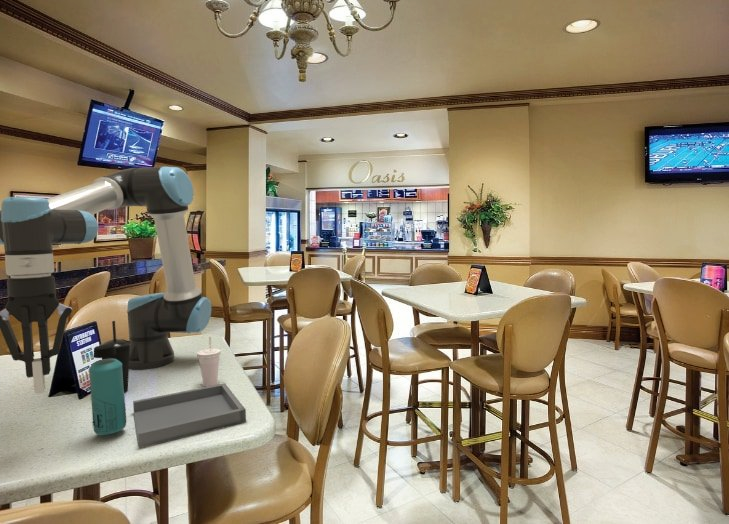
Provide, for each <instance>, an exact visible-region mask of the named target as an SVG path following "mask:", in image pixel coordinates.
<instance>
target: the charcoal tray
mask: <svg viewBox="0 0 729 524" xmlns="http://www.w3.org/2000/svg"><path fill="white" fill-rule="evenodd" d="M132 403H133V405H132V406H133V417H134V423H135V430H136V437H137V443H138V449H143V448H145V447H147V448H148V447H150V446H154V445H159V444H162V443H167V442H170V441H174V440H178V439H182V438H186V437H191V436H195V435H199V434H203V433H206V432H210V431H214V430H215V429H216V430H220V429H223V427H224V428H227V426H228V427H231V426H235V425H240V424H244V423H247V413H246V408H245V407H244V405H243V404H242V403H241V402H240V400H239V399H238V398H237V397H236V395H235V393H233V391H232V390H231V389H230V387H228V385H227V384H226V383H224V382H223V383H219V384H216V385H213V386H208V387H206V386H204V387H199V388H193V389H188V390H184V391H179V392H174V393H168V394H164V395H158V396H154V397H153V396H152V397H147V398H142V399H137V400H133V401H132Z"/></svg>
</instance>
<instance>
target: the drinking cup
mask: <svg viewBox="0 0 729 524" xmlns="http://www.w3.org/2000/svg"><path fill="white" fill-rule="evenodd" d="M111 322H112V323H111V325H112V338H113V339H109V340H107V341H104V342H103V343H101V344H99V345H98V346H100V345H107V344H112V345H114V346H115V351H116V354H115V355H114V356H110V357H106V358H101V360H103V359H111V358H112V359H117V360H118V361H120V362H121V363H122V372H123V387H124V394H126V393H127V392H128V391H129V369H130V368H129V352H130V344H131V342H130V341H129V340H127V339H123V338H117V333H116V330H117V329H116V320H112V321H111Z"/></svg>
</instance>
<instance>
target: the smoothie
mask: <svg viewBox="0 0 729 524" xmlns="http://www.w3.org/2000/svg"><path fill="white" fill-rule="evenodd" d="M208 346H209V347H208V348H205V349H202V350H199V351H197V352H196V354H197V355H196V357H197V358H198V363H199V367H200V374H201V379H202V384H203V386H204V387H208V386H213V385H218V376H219V366H220V364H219V361H220V355H221V349H219V348H212V336H208Z"/></svg>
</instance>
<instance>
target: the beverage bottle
mask: <svg viewBox="0 0 729 524" xmlns="http://www.w3.org/2000/svg"><path fill="white" fill-rule="evenodd" d="M99 345H100V346H99ZM99 345H96V346H95V347H94V348H93V358H95V359H99V360H97V361H95V362H93V363H92V364H91V366H90V367H89V368H88V372H89V381H90V382H89V383H90V385H89V387H90V388H89V390H90V391H89V394H90V398H91V399H90V400H91V416H92V421H91V424H92V429H93V432H94V434H95V435H100V436H103V435H104V436H105V435H111V434H114V433H117V432H120V431H122V430H124V428H125V427H126V425H127V420H128V419H127V417H128V416H127V408H126V399H125V398H126V397H125V393H124V387H123V372H122V363H121V362H120V361H118V360H117V359H112V358H111V359H103V360H102V358H106V357H110V356H114V355H115V354H116V351H115V346H114V345H112V344H107V345H101V344H99Z"/></svg>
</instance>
